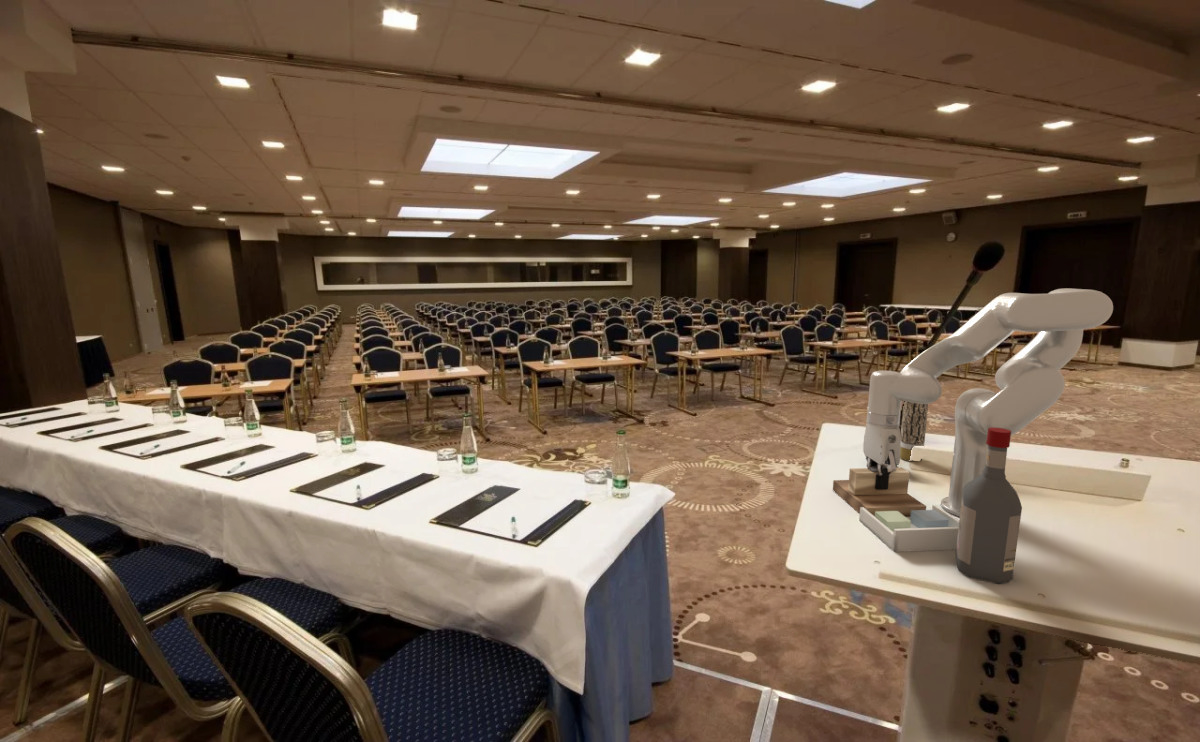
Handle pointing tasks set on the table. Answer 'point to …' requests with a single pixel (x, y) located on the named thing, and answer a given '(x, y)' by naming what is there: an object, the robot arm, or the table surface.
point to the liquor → (989, 518)
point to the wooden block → (866, 477)
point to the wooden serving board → (878, 500)
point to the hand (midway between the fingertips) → (876, 485)
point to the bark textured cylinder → (912, 427)
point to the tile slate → (928, 519)
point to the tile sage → (893, 519)
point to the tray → (914, 533)
